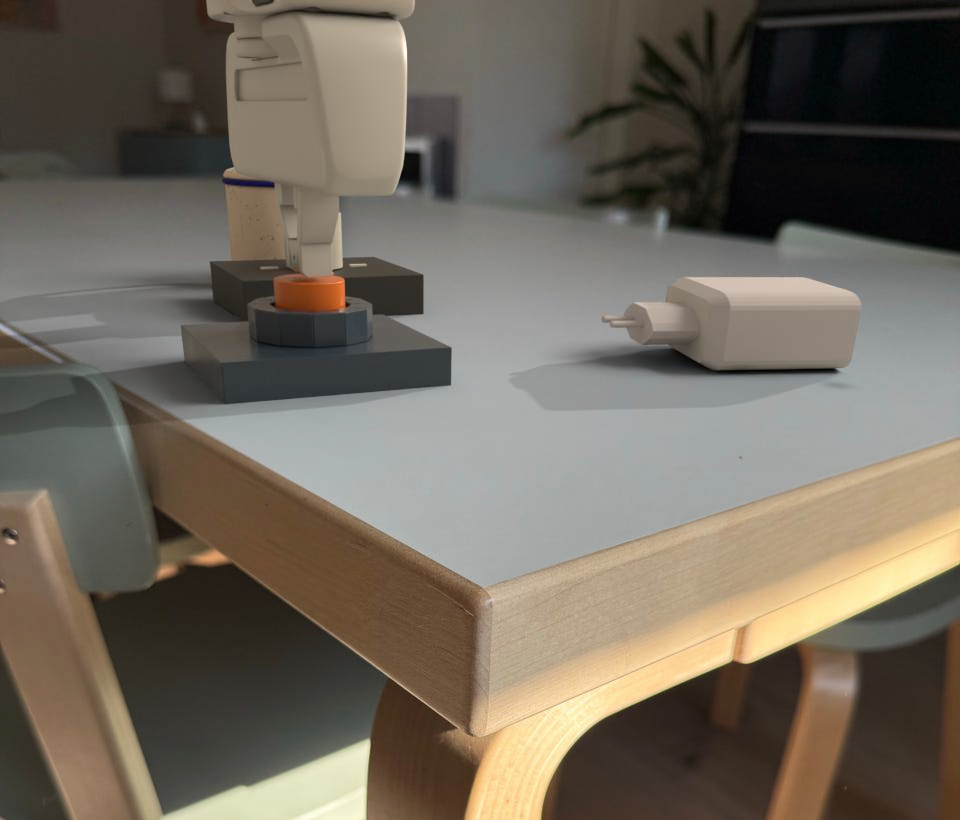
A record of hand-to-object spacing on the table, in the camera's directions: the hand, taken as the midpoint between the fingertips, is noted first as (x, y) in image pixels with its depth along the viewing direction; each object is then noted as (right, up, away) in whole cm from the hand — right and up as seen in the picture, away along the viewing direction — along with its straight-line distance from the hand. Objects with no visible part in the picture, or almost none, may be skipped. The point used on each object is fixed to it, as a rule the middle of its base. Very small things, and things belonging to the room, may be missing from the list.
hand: (310, 274), depth 56 cm
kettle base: (-3, +6, +23) cm, 24 cm away
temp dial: (-3, +8, +21) cm, 23 cm away
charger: (+25, -2, +10) cm, 27 cm away
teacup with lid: (-9, +12, +34) cm, 37 cm away
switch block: (0, -5, +3) cm, 6 cm away
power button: (0, -2, +1) cm, 2 cm away
